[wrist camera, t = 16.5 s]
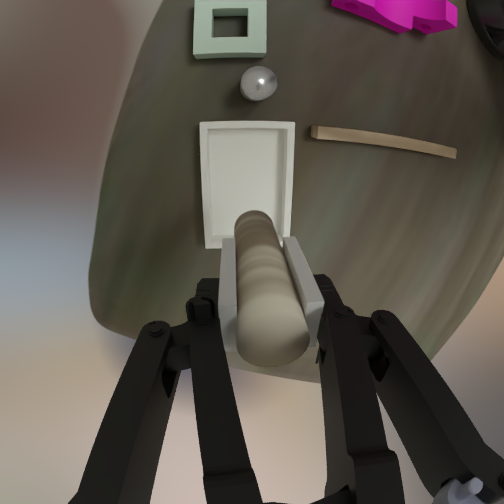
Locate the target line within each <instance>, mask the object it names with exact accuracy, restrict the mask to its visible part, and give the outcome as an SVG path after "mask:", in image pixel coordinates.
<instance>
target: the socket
mask: <svg viewBox="0 0 504 504" xmlns="http://www.w3.org/2000/svg"><path fill="white" fill-rule="evenodd" d="M215 16H247V37H216V38H213V36H214V17H215ZM265 54H266V0H195V9H194V36H193V55H194V56H195V58H196V59H207V58H237V57H247V58H264V56H265Z"/></svg>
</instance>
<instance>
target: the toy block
mask: <svg viewBox="0 0 504 504" xmlns="http://www.w3.org/2000/svg"><path fill="white" fill-rule="evenodd" d="M331 6H334V7H337V8H340V9H343V10H346V11H348V12H351V13H354V14H356V15H359V16H361V17H364V18H366V19H369V20H371V21H373V22H376V23H378V24H380V25H382V26H384V27H387V28H389V29H391V30H393V31H395V32H397V33H399V34H400V33H403V32H406V31H409V30H412V27H414V28H416V29H418V30H419V31H421V32H423V33H425V34H426V35H427V34H431V33H435V32H439V31H443V30H448V29H452V28H457V7H456V6H454V5H453V4H452V3H450V2H449V1H447V0H332V4H331Z"/></svg>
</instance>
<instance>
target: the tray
mask: <svg viewBox="0 0 504 504" xmlns="http://www.w3.org/2000/svg"><path fill="white" fill-rule="evenodd" d="M294 138H295V122H290V121H250V120H246V121H206V122H200V156H201V181H202V201H203V218H204V234H205V248H206V249H210V248H222V238H234V226H235V222H236V220H237V219H238V217H239V216H240V215H242V214H243V213H245V212H247V211H251V210H258V211H262V212H264V213H266V214H267V215H268V216H269V217H270V218H271V220H272V222H273V225H274V228H275V230H276V233H277V236H278V239H279V242H280V245H281V247H283V237H290V222H291V205H292V186H293V165H294Z"/></svg>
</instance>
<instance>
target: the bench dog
mask: <svg viewBox="0 0 504 504" xmlns="http://www.w3.org/2000/svg"><path fill="white" fill-rule="evenodd" d="M276 88H277V78H276V76H275V74H274V73H273V72H272V71H271V70H270V69H268V68H266V67H263V66H255V67H252V68H249V69H248V70H247V71H246V72H245V73H244V74H243V76H242V79H241V84H240V91H241V94H242V95H243V97H244V98H246V99H247V100H249V101H253V102H257V101H261V100H263V99H265V98H267V97H269V96H271V95H272V94H273V93H274V92H275V90H276Z"/></svg>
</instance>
